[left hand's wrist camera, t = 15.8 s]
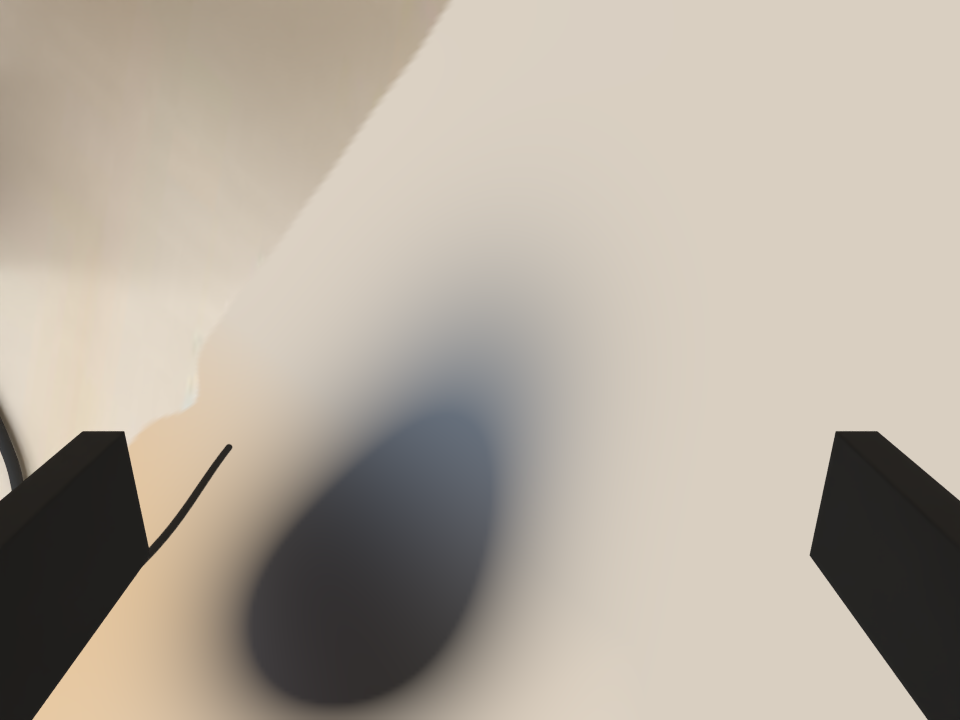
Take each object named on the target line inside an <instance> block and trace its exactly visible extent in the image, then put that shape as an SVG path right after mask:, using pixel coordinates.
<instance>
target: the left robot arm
mask: <svg viewBox="0 0 960 720" xmlns="http://www.w3.org/2000/svg"><path fill="white" fill-rule="evenodd" d="M231 449H232V445H231V444H227V445H226V446H225V448H224V449H223V450H222V451H221V453H220V454H219V455H218V457H217V458H216V459H215V461H214V462H213V463H212V465H211V466H210V468H209V469H208V471H207V472H206V473H205V475H204V476H203V478H202V479H201V481H200V482H199V484H198V485H197V486H196V488H195V489H194V491H193V492H192V494H191V495H190V497H189V498H188V500H187V501H186V502H185V504H184V505H183V507H182V508H181V509H180V511H179V512H178V514H177V515H176V516H175V517H174V519H173V520H172V521H171V523H170V524H169V525H168V526H167V528H166V529H165V530H164V531H163V532H162V534H161V535H160V536H159V537H158V538H157V539H156V540H155V542H154V543H153V544H152V545H151V546H150V547H148V542H147V537H146V533H145V528H144V523H143V518H142V514H141V509H140V504H139V499H138V495H137V490H136V485H135V480H134V476H133V471H132V466H131V461H130V457H129V452H128V447H127V442H126V438H125V433H124V431H83V432H81V433H80V434H79V435H78V436H77V437H75V438H74V439H73V440H72V441H71V442H69V443H68V444H67V445H66V446H65V447H64V448H62V449H61V450H60V451H59V452H58V453H56V454H55V455H54V456H53V457H52V458H50V459H49V460H48V461H47V462H46V463H45V464H43V465H42V466H41V467H40V468H39V469H37V470H36V471H35V472H34V473H33V474H32V475H30V476H29V477H28V478H27V479H26V480H24V481H23V477H22V473H21V469H20V465H19V462H18V459H17V456H16V453H15V451H14V448H13V445H12V443H11V440H10V438H9V436H8V433H7V431H6V429H5V426H4V424H3V422H2V420H1V418H0V451H1V454H2V456H3V459H4V462H5V465H6V468H7V471H8V475H9V479H10V484H11V489H12V491H11V492H10V493H9V494H8V495H7V496H5V497H4V498H3V499H2V500H1V501H0V720H32V719H33V718H34V716H35V715H36V714H37V712H38V711H39V709H40V708H41V707H42V705H43V704H44V703H45V701H46V700H47V698H48V697H49V696H50V694H51V693H52V691H53V690H54V689H55V687H56V686H57V684H58V683H59V682H60V680H61V679H62V678H63V676H64V675H65V673H66V672H67V671H68V669H69V668H70V666H71V665H72V664H73V662H74V661H75V659H76V658H77V657H78V655H79V654H80V652H81V651H82V650H83V648H84V647H85V646H86V644H87V643H88V641H89V640H90V639H91V637H92V636H93V634H94V633H95V632H96V630H97V629H98V627H99V626H100V625H101V623H102V622H103V620H104V619H105V618H106V616H107V615H108V613H109V612H110V611H111V609H112V608H113V607H114V605H115V604H116V602H117V601H118V600H119V598H120V597H121V595H122V594H123V593H124V591H125V590H126V588H127V587H128V586H129V584H130V583H131V581H132V580H133V579H134V577H135V576H136V575H137V573H138V572H139V570H140V569H141V568H142V567H143V566H144V565H145V564H146V563H147V562H148V560H149V559H150V558H151V557H152V556H153V555H154V554H155V553H156V552H157V551H158V550H159V549H160V548H161V546H162V545H163V544H164V543H165V542H166V541H167V540H168V538H169V537H170V536H171V535H172V533H173V532H174V531H175V530H176V528H177V527H178V526H179V524H180V523H181V522H182V520H183V519H184V517H185V516H186V515H187V513H188V512H189V510H190V509H191V507H192V506H193V505H194V503H195V502H196V500H197V499H198V497H199V496H200V494H201V493H202V491H203V490H204V488H205V487H206V485H207V484H208V482H209V481H210V479H211V478H212V476H213V475H214V473H215V472H216V470H217V469H218V467H219V466H220V464H221V463H222V462H223V460H224V459H225V457H226V456H227V455H228V453H229V452H230V451H231ZM810 556H811V558H812V559H813V561H814V562H815V563H816V565H817V566H818V568H819V569H820V570H821V572H822V573H823V575H824V576H825V577H826V579H827V580H828V581H829V583H830V584H831V586H832V587H833V588H834V590H835V591H836V593H837V594H838V595H839V597H840V598H841V600H842V601H843V602H844V604H845V605H846V606H847V608H848V609H849V611H850V612H851V614H852V615H853V616H854V618H855V619H856V620H857V622H858V623H859V625H860V626H861V627H862V629H863V630H864V632H865V633H866V634H867V636H868V637H869V639H870V640H871V641H872V643H873V644H874V646H875V647H876V648H877V650H878V651H879V652H880V654H881V655H882V656H883V658H884V659H885V661H886V662H887V664H888V665H889V666H890V668H891V669H892V670H893V672H894V673H895V675H896V676H897V677H898V679H899V680H900V682H901V683H902V684H903V686H904V687H905V689H906V690H907V691H908V693H909V694H910V696H911V697H912V698H913V700H914V701H915V703H916V704H917V705H918V707H919V708H920V709H921V711H922V712H923V714H924V715H925V716H926V718H927V719H928V720H960V501H959V500H958V499H957V498H956V497H955V496H953V495H952V494H951V493H950V492H949V491H947V490H946V489H945V488H944V487H943V486H942V485H940V484H939V483H938V482H937V481H936V480H934V479H933V478H932V477H931V476H930V475H928V474H927V473H926V472H925V471H924V470H923V469H921V468H920V467H919V466H918V465H917V464H915V463H914V462H913V461H912V460H911V459H910V458H908V457H907V456H906V455H905V454H904V453H902V452H901V451H900V450H899V449H898V448H896V447H895V446H894V445H893V444H892V443H891V442H889V441H888V440H887V439H886V438H885V437H883V436H882V435H881V434H880V433H879V432H877V431H836V433H835V438H834V442H833V447H832V452H831V457H830V461H829V466H828V471H827V476H826V480H825V485H824V490H823V495H822V499H821V504H820V509H819V513H818V518H817V523H816V528H815V532H814V537H813V542H812V547H811V551H810Z"/></svg>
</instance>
